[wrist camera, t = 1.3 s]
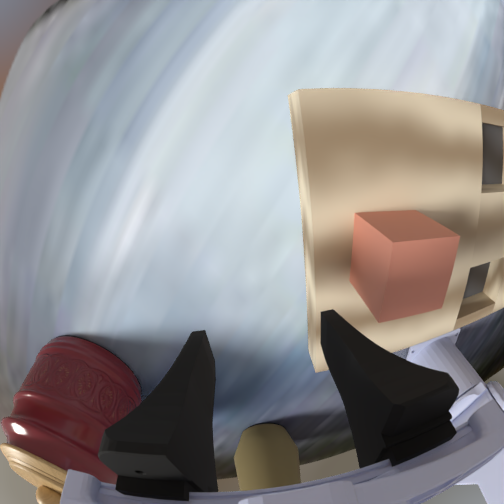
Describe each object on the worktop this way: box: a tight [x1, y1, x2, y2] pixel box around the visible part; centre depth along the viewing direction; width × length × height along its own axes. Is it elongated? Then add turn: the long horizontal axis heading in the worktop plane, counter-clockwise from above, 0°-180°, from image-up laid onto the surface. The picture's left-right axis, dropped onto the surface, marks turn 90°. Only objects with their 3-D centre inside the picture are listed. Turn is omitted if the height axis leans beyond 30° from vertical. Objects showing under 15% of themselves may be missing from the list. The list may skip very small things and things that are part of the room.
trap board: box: [288, 88, 504, 373], centre depth 20 cm, size 22×37×4 cm, turn 98°
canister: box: [0, 336, 142, 504], centre depth 18 cm, size 13×13×18 cm
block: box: [349, 210, 460, 323], centre depth 16 cm, size 5×5×5 cm
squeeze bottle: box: [234, 424, 301, 491], centre depth 24 cm, size 8×8×18 cm
